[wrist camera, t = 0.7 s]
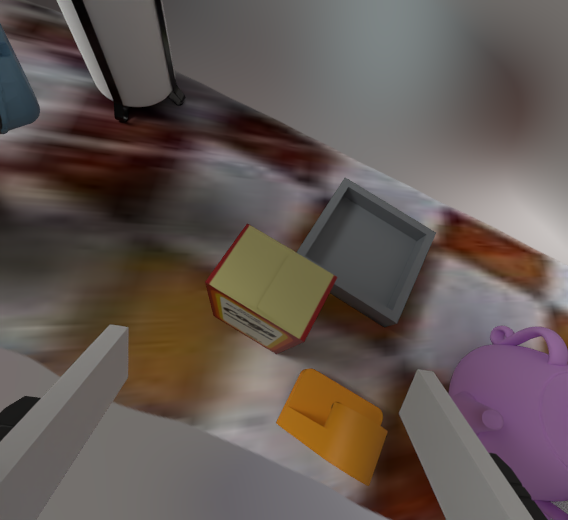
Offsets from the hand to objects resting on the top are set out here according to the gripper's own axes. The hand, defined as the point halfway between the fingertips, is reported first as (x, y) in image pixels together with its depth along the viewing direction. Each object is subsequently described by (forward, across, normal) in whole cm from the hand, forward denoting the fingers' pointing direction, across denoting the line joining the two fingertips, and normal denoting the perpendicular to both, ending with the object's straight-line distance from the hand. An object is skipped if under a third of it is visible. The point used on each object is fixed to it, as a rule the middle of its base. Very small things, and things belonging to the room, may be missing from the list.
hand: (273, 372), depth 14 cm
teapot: (+20, +31, -19) cm, 41 cm away
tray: (+32, +13, -4) cm, 35 cm away
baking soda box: (+24, 0, -12) cm, 27 cm away
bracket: (+17, +10, -20) cm, 28 cm away
